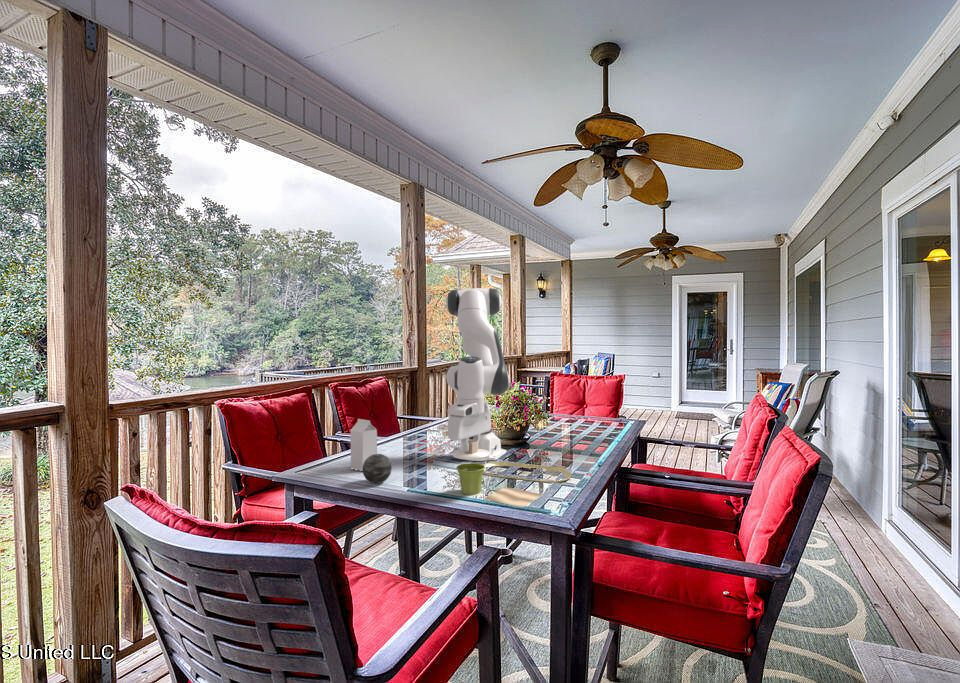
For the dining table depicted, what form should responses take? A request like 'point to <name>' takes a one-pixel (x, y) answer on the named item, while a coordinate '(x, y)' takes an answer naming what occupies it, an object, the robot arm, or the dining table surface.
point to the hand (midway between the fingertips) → (470, 449)
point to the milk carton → (362, 443)
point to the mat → (513, 497)
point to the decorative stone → (377, 468)
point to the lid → (471, 452)
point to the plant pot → (471, 477)
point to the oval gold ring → (528, 467)
